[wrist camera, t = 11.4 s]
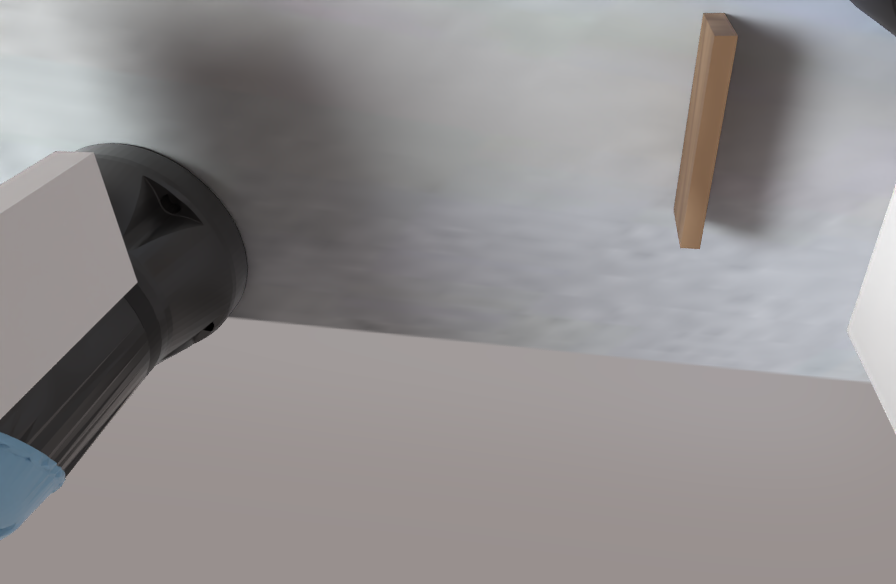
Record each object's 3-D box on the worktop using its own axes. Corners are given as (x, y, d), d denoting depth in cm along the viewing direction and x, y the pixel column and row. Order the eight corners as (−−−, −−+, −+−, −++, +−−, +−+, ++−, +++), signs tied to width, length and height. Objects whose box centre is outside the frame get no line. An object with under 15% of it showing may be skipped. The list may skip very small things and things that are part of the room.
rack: (673, 209, 41) (680, 247, 38) (703, 13, 35) (714, 35, 32) (996, 224, 38) (1037, 267, 35) (1089, 12, 32) (1151, 37, 29)
